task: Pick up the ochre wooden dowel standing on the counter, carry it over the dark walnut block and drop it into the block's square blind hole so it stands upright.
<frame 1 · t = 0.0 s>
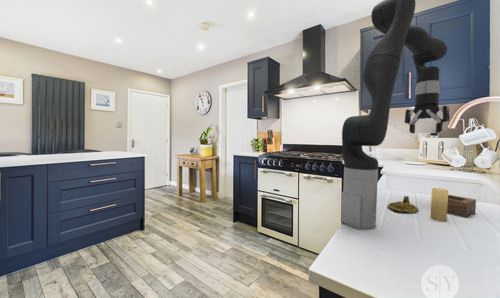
hand: (424, 133, 87), 29 cm above the worktop, tool pointing down, fingers open, 8 cm apart
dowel: (438, 219, 69), on the worktop
socket block: (452, 211, 78), on the worktop
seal: (402, 210, 80), on the worktop
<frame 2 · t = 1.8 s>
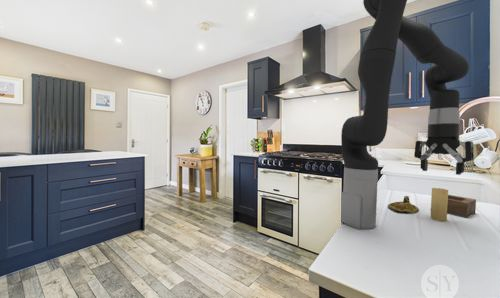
hand: (440, 172, 69), 16 cm above the worktop, tool pointing down, fingers open, 8 cm apart
nothing on the worktop moved.
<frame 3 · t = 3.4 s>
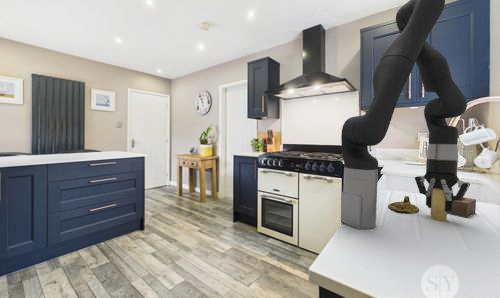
hand: (439, 209, 69), 3 cm above the worktop, tool pointing down, fingers closed on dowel, 4 cm apart
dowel: (438, 219, 69), on the worktop, touching gripper
everything else where it was.
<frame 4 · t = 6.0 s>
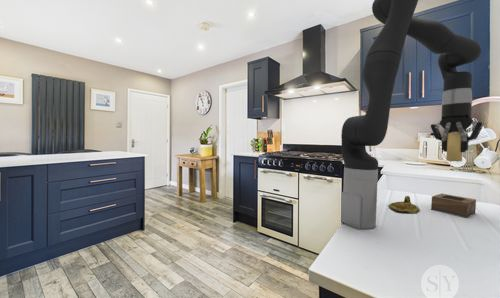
hand: (454, 151, 75), 22 cm above the worktop, tool pointing down, fingers closed on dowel, 4 cm apart
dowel: (454, 160, 75), point 19 cm above the worktop, touching gripper
everything else where it was.
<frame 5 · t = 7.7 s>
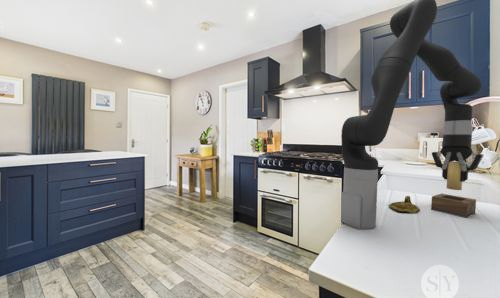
hand: (454, 180, 77), 12 cm above the worktop, tool pointing down, fingers closed on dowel, 4 cm apart
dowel: (453, 188, 77), point 8 cm above the worktop, touching gripper
everything else where it was.
when the fingers open (8 cm above the worktop, at t = 8.8 s): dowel drops 3 cm, resting on socket block.
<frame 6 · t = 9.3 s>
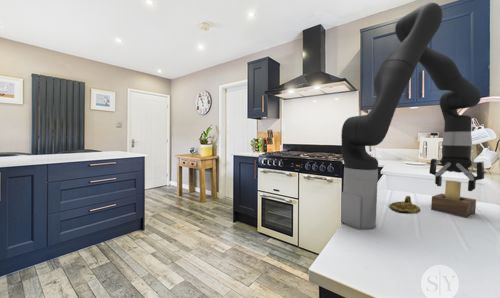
hand: (454, 188, 77), 9 cm above the worktop, tool pointing down, fingers open, 8 cm apart
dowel: (451, 208, 78), point 1 cm above the worktop, touching socket block
everything else where it was.
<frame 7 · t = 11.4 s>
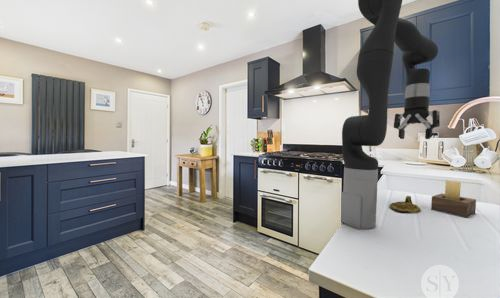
hand: (414, 138, 82), 27 cm above the worktop, tool pointing down, fingers open, 8 cm apart
nothing on the worktop moved.
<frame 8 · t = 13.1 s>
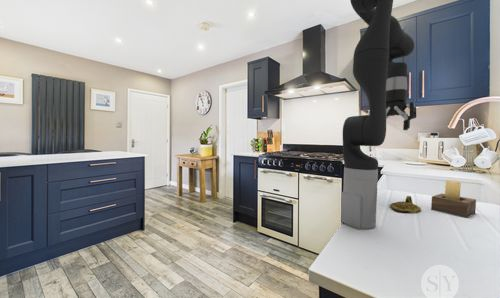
hand: (393, 130, 85), 30 cm above the worktop, tool pointing down, fingers open, 8 cm apart
at the end: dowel 0.4 cm off-centre on the socket block, point 1.0 cm above the socket block's base; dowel tilted 0°; the gripper is holding nothing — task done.
